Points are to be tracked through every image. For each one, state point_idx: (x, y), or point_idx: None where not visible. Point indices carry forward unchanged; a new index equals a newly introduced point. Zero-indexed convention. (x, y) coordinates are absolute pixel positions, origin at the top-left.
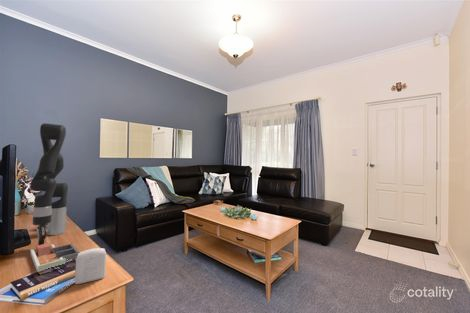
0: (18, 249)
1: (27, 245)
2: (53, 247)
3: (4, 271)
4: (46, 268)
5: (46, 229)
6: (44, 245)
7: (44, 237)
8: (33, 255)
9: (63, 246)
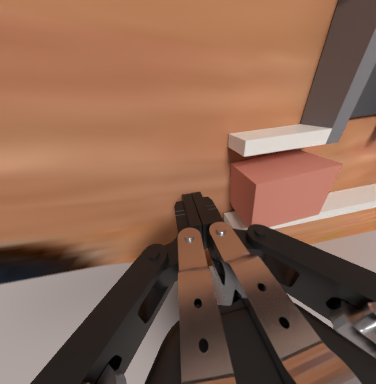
0: (122, 261)
1: (68, 249)
2: (323, 141)
3: (312, 243)
4: None
5: (345, 373)
6: (290, 197)
7: (291, 243)
8: (334, 215)
9: (368, 63)
